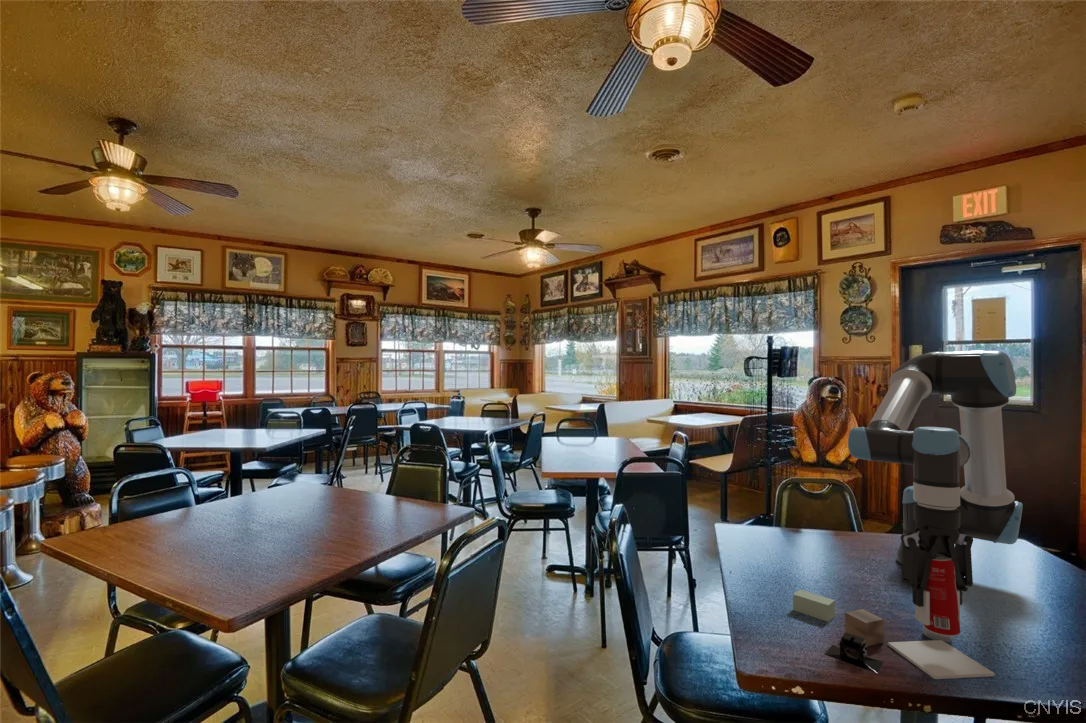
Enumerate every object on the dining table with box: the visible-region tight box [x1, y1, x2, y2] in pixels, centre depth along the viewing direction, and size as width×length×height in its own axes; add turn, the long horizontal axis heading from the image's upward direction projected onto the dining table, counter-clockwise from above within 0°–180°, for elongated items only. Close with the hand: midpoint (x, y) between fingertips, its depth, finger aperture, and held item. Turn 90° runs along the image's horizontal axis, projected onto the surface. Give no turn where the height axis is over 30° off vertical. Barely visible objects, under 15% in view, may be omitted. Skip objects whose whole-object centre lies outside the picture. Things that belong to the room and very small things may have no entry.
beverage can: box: [924, 553, 961, 638], centre depth 104 cm, size 6×6×15 cm
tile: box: [887, 639, 995, 680], centre depth 104 cm, size 12×12×1 cm
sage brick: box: [792, 589, 836, 623], centre depth 124 cm, size 4×8×4 cm, turn 41°
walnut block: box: [844, 608, 885, 647], centre depth 113 cm, size 5×5×5 cm
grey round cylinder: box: [922, 623, 953, 643], centre depth 113 cm, size 5×5×6 cm
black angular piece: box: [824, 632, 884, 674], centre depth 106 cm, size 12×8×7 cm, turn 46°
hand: (937, 621), depth 104 cm, fingers closed on beverage can, 6 cm apart
